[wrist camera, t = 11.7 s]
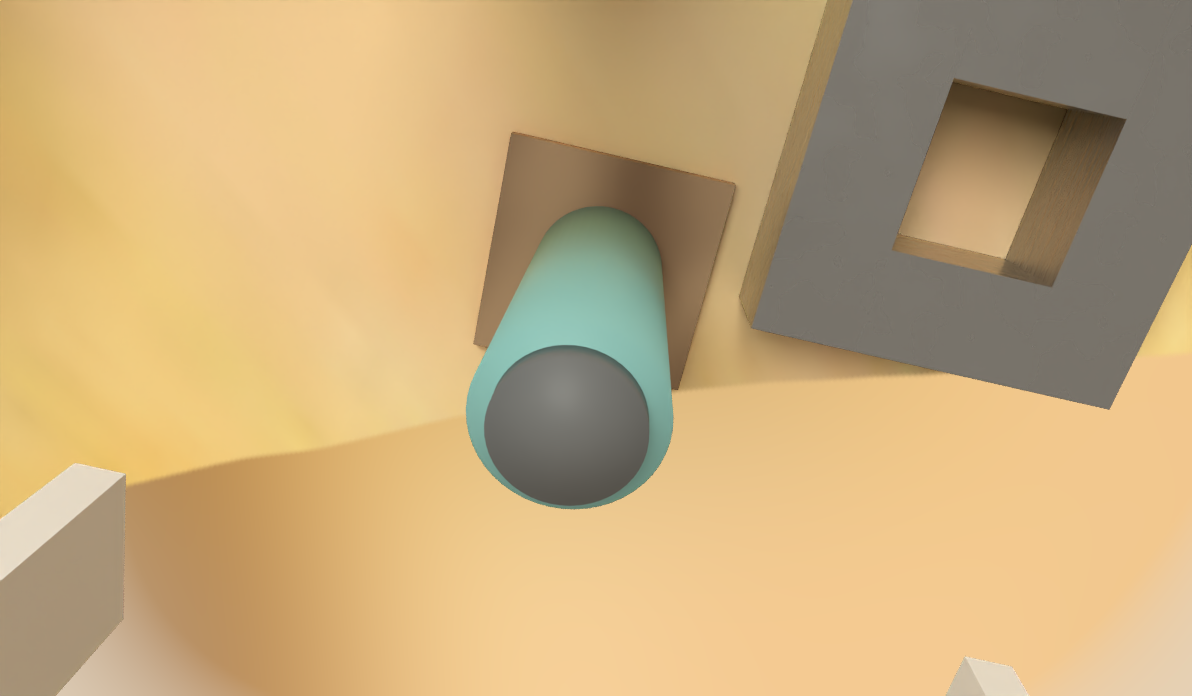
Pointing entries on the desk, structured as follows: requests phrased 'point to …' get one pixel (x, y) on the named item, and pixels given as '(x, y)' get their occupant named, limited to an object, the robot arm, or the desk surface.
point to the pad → (590, 178)
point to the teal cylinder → (578, 368)
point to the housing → (1051, 221)
